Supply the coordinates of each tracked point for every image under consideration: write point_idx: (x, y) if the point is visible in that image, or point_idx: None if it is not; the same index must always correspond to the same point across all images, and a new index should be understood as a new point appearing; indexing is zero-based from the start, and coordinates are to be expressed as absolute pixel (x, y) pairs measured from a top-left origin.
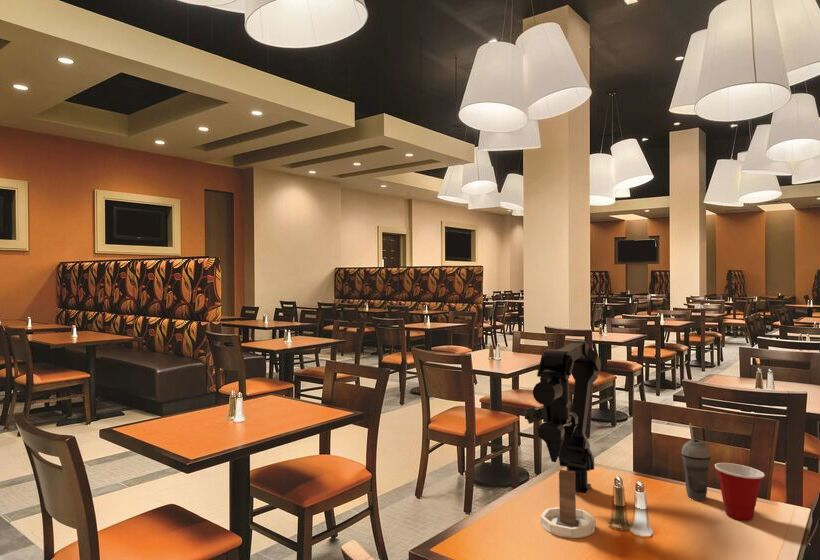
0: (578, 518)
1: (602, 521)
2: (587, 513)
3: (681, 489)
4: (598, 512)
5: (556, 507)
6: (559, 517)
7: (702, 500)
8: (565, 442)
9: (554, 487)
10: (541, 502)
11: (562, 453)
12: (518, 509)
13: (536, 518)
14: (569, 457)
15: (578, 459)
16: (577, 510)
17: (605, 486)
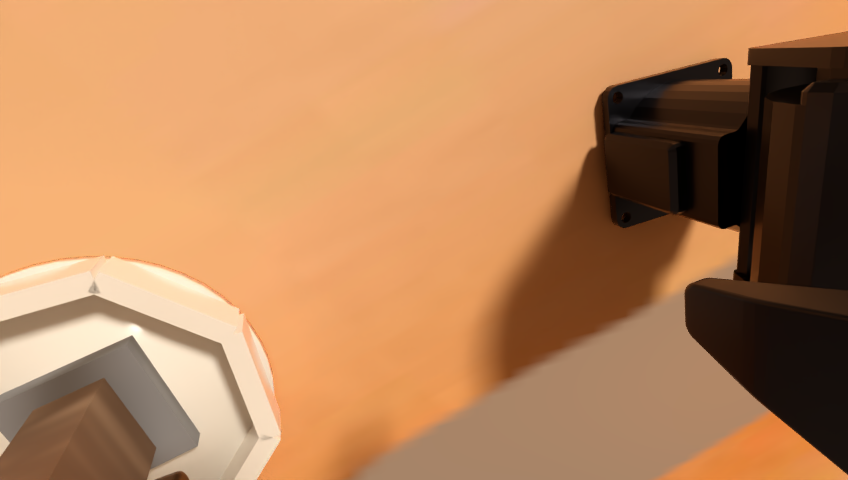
0: (185, 446)
1: (325, 471)
2: (251, 474)
3: (832, 465)
4: (417, 399)
5: (181, 304)
6: (94, 371)
7: None
8: (835, 420)
9: (609, 19)
10: (321, 83)
11: (820, 126)
12: (61, 7)
13: (37, 207)
14: (783, 196)
15: (770, 280)
16: (250, 413)
17: None
